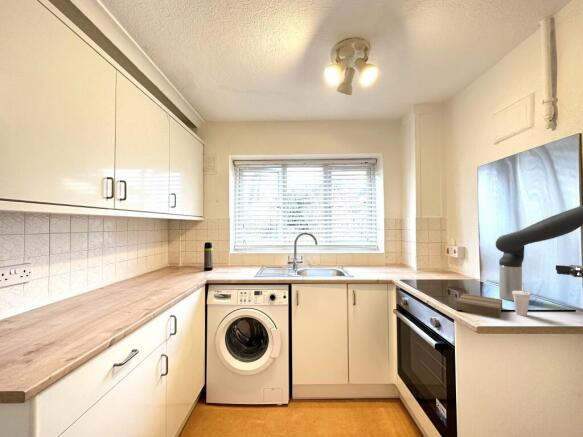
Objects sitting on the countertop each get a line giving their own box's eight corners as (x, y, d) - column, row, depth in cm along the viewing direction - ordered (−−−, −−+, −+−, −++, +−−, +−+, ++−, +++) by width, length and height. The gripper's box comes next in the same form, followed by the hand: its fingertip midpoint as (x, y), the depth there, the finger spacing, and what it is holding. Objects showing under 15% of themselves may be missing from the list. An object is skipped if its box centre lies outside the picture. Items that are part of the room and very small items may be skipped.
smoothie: (534, 317, 119) (534, 284, 119) (517, 316, 120) (517, 284, 120) (525, 312, 125) (525, 281, 125) (508, 311, 126) (508, 280, 126)
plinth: (463, 301, 142) (462, 293, 141) (502, 308, 131) (502, 299, 131) (456, 309, 129) (456, 301, 129) (499, 317, 119) (499, 308, 119)
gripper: (611, 261, 110) (555, 258, 120) (620, 266, 99) (557, 262, 110) (612, 280, 110) (555, 275, 120) (620, 288, 99) (557, 281, 110)
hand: (556, 269), depth 115 cm, fingers open, 8 cm apart
